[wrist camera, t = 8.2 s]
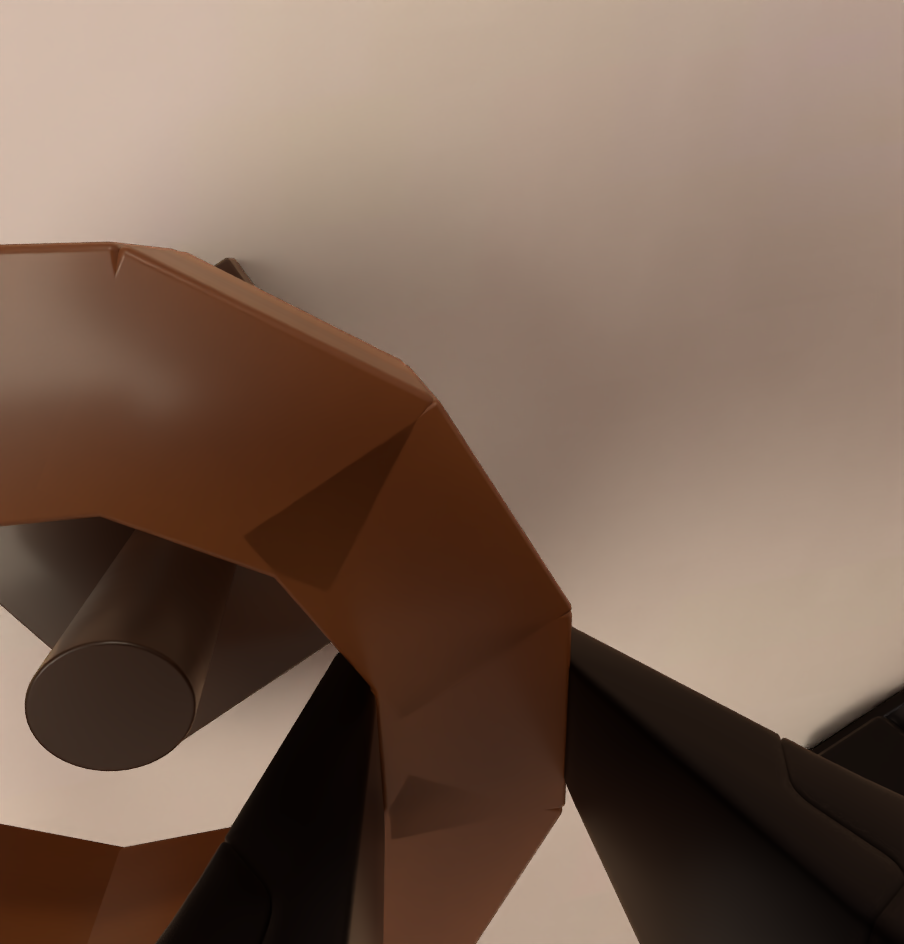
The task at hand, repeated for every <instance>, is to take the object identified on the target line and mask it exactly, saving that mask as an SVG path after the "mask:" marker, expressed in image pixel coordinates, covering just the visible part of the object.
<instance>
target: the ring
mask: <svg viewBox="0 0 904 944" xmlns="http://www.w3.org/2000/svg"><path fill="white" fill-rule="evenodd" d="M91 517H102V518H105V519H108V520H111V521H114V522H117V523H120V524H122V525H125V526H128V527H131V528H134V529H137V530H140V531H142V532H145V533H148V534H151V535H154V536H157V537H159V538H162V539H165V540H168V541H171V542H174V543H177V544H179V545H182V546H185V547H188V548H191V549H194V550H197V551H199V552H202V553H205V554H208V555H211V556H214V557H216V558H219V559H222V560H225V561H228V562H231V563H234V564H236V565H239V566H242V567H245V568H248V569H251V570H254V571H256V572H259V573H262V574H265V575H268V576H271V577H273V578H275V579H276V580H277V582H278V583H279V584H280V585H281V586H282V587H283V588H284V589H285V591H286V592H287V593H288V594H289V595H290V596H291V597H292V599H293V600H294V601H295V602H296V603H297V604H298V605H299V606H300V608H301V609H302V610H303V611H304V612H305V613H306V614H307V615H308V617H309V618H310V619H311V620H312V621H313V622H314V623H315V624H316V626H317V627H318V628H319V629H320V630H321V631H322V632H323V634H324V635H325V636H326V637H327V638H328V639H329V640H330V641H331V643H332V644H333V645H334V646H335V647H336V648H337V649H338V650H339V652H340V653H341V654H342V655H343V656H344V657H345V658H346V659H347V661H348V662H349V663H350V664H351V665H352V666H353V667H354V669H355V670H356V671H357V672H358V673H359V674H360V675H361V676H362V678H363V679H364V680H365V681H366V682H367V683H368V684H369V685H370V690H371V691H372V693H373V694H374V695H375V698H376V711H377V724H378V738H379V752H380V765H381V779H382V793H383V806H384V820H385V865H384V930H383V944H476V943H477V941H478V940H479V938H480V937H481V935H482V934H483V932H484V931H485V929H486V927H487V926H488V924H489V923H490V921H491V920H492V918H493V917H494V915H495V914H496V912H497V911H498V909H499V908H500V906H501V905H502V903H503V902H504V900H505V898H506V897H507V895H508V894H509V892H510V891H511V889H512V888H513V886H514V885H515V883H516V882H517V880H518V879H519V877H520V876H521V874H522V873H523V871H524V869H525V868H526V866H527V865H528V863H529V862H530V860H531V859H532V857H533V856H534V854H535V853H536V851H537V850H538V848H539V847H540V845H541V844H542V842H543V840H544V839H545V837H546V836H547V834H548V833H549V831H550V830H551V828H552V827H553V825H554V824H555V822H556V821H557V819H558V818H559V816H560V815H561V813H562V806H564V804H565V793H566V782H565V779H564V770H565V748H566V727H567V706H568V685H569V668H570V654H571V626H572V613H571V604H570V602H569V601H568V599H567V598H566V596H565V595H564V593H563V591H562V590H561V588H560V587H559V585H558V584H557V582H556V581H555V579H554V577H553V576H552V574H551V573H550V571H549V570H548V568H547V567H546V565H545V564H544V562H543V560H542V559H541V557H540V556H539V554H538V553H537V551H536V550H535V548H534V547H533V545H532V543H531V542H530V540H529V539H528V537H527V536H526V534H525V533H524V531H523V530H522V528H521V526H520V525H519V523H518V522H517V520H516V519H515V517H514V516H513V514H512V512H511V511H510V509H509V508H508V506H507V505H506V503H505V502H504V500H503V499H502V497H501V495H500V494H499V492H498V491H497V489H496V488H495V486H494V485H493V483H492V482H491V480H490V478H489V477H488V475H487V474H486V472H485V471H484V469H483V468H482V466H481V465H480V463H479V461H478V460H477V458H476V457H475V455H474V454H473V452H472V451H471V449H470V447H469V446H468V444H467V443H466V441H465V440H464V438H463V437H462V435H461V434H460V432H459V430H458V429H457V427H456V426H455V424H454V423H453V421H452V420H451V418H450V417H449V415H448V413H447V412H446V410H445V409H444V407H443V406H442V404H441V403H440V401H439V400H438V399H437V398H436V397H435V396H434V394H433V393H432V392H431V391H430V390H429V389H428V388H427V386H426V385H425V384H424V383H423V382H422V381H421V379H420V378H419V377H418V376H417V375H416V374H415V373H414V371H413V370H412V369H411V368H410V367H409V366H408V365H405V364H404V363H403V362H402V361H401V360H400V359H398V358H396V357H394V356H392V355H390V354H388V353H386V352H384V351H382V350H380V349H378V348H376V347H374V346H372V345H370V344H368V343H366V342H364V341H362V340H360V339H358V338H356V337H354V336H352V335H350V334H348V333H346V332H344V331H342V330H340V329H338V328H336V327H334V326H332V325H330V324H328V323H326V322H324V321H322V320H320V319H318V318H316V317H314V316H312V315H310V314H308V313H306V312H304V311H302V310H300V309H298V308H296V307H294V306H292V305H291V304H289V303H287V302H285V301H283V300H281V299H279V298H277V297H275V296H273V295H271V294H269V293H267V292H265V291H263V290H261V289H259V288H257V287H255V286H253V285H251V284H249V283H247V282H245V281H243V280H241V279H239V278H237V277H235V276H233V275H231V274H229V273H227V272H225V271H223V270H221V269H219V268H217V267H215V266H213V265H211V264H209V263H207V262H205V261H203V260H201V259H199V258H197V257H195V256H193V255H191V254H189V253H187V252H179V251H177V250H174V249H170V248H161V247H152V246H143V245H134V244H125V243H117V242H81V243H43V244H5V245H0V526H10V525H20V524H30V523H40V522H50V521H61V520H71V519H81V518H91ZM230 828H231V827H229V828H224V829H218V830H213V831H208V832H203V833H197V834H192V835H187V836H181V837H176V838H171V839H166V840H160V841H155V842H150V843H144V844H139V845H134V846H128V847H120V846H114V845H109V844H104V843H99V842H93V841H88V840H83V839H77V838H72V837H67V836H62V835H56V834H51V833H46V832H41V831H35V830H30V829H25V828H20V827H14V826H9V825H4V824H0V944H155V943H156V942H157V940H158V939H159V937H160V936H161V935H162V933H163V932H164V930H165V929H166V928H167V926H168V925H169V924H170V922H171V921H172V919H173V918H174V916H175V915H176V913H177V912H178V910H179V909H180V907H181V906H182V904H183V903H184V901H185V899H186V898H187V896H188V895H189V893H190V892H191V890H192V889H193V887H194V886H195V884H196V883H197V881H198V879H199V878H200V876H201V875H202V873H203V872H204V870H205V868H206V867H207V865H208V863H209V862H210V860H211V859H212V857H213V855H214V854H215V852H216V850H217V849H218V847H219V845H220V844H221V843H222V842H225V836H226V835H227V833H228V831H229V830H230Z"/></svg>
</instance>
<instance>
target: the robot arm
mask: <svg viewBox="0 0 904 944" xmlns="http://www.w3.org/2000/svg"><path fill="white" fill-rule="evenodd" d="M564 779H565V782H566V785H567V787H568V790H569V792H570V794H571V797H572V799H573V801H574V804H575V806H576V808H577V810H578V812H579V814H580V817H581V819H582V821H583V823H584V825H585V827H586V829H587V832H588V834H589V836H590V838H591V840H592V842H593V844H594V847H595V849H596V851H597V853H598V855H599V857H600V859H601V862H602V864H603V866H604V868H605V870H606V872H607V874H608V877H609V879H610V881H611V883H612V885H613V887H614V889H615V892H616V894H617V896H618V898H619V900H620V902H621V905H622V907H623V909H624V911H625V913H626V915H627V917H628V920H629V922H630V924H631V926H632V928H633V930H634V932H635V935H636V937H637V939H638V941H639V943H640V944H904V689H903V690H902V691H900V692H899V693H897V694H896V695H894V696H893V697H891V698H890V699H888V700H887V701H885V702H884V703H882V704H881V705H879V706H878V707H876V708H875V709H873V710H872V711H870V712H869V713H867V714H866V715H864V716H863V717H861V718H859V719H858V720H856V721H855V722H853V723H852V724H850V725H849V726H847V727H846V728H844V729H843V730H841V731H840V732H838V733H837V734H835V735H834V736H832V737H831V738H829V739H828V740H826V741H825V742H823V743H822V744H820V745H818V746H817V747H815V748H814V749H812V750H811V751H810V750H808V749H806V748H804V747H802V746H800V745H798V744H796V743H794V742H793V741H791V740H789V739H787V738H782V739H780V736H779V735H778V734H777V733H775V732H773V731H771V730H769V729H767V728H765V727H763V726H761V725H760V724H758V723H756V722H754V721H752V720H750V719H748V718H746V717H744V716H742V715H740V714H738V713H737V712H735V711H733V710H731V709H729V708H727V707H725V706H723V705H721V704H719V703H717V702H715V701H714V700H712V699H710V698H708V697H706V696H704V695H702V694H700V693H698V692H696V691H694V690H692V689H691V688H689V687H687V686H685V685H683V684H681V683H679V682H677V681H675V680H673V679H671V678H669V677H668V676H666V675H664V674H662V673H660V672H658V671H656V670H654V669H652V668H650V667H648V666H646V665H645V664H643V663H641V662H639V661H637V660H635V659H633V658H631V657H629V656H627V655H625V654H623V653H622V652H620V651H618V650H616V649H614V648H612V647H610V646H608V645H606V644H604V643H602V642H600V641H599V640H597V639H595V638H593V637H591V636H589V635H587V634H585V633H583V632H581V631H579V630H577V629H576V628H574V627H572V626H571V654H570V668H569V685H568V706H567V727H566V748H565V770H564ZM384 865H385V820H384V806H383V793H382V779H381V765H380V752H379V738H378V724H377V711H376V698H375V695H374V694H373V693H372V691H371V690H370V685H369V684H368V683H367V682H366V681H365V680H364V679H363V678H362V676H361V675H360V674H359V673H358V672H357V671H356V670H355V669H354V667H353V666H352V665H351V664H350V663H349V662H348V661H347V659H346V658H345V657H344V656H343V655H342V654H341V653H340V652H339V653H338V654H337V655H336V656H335V658H334V660H333V661H332V663H331V665H330V666H329V668H328V670H327V671H326V673H325V674H324V676H323V678H322V679H321V681H320V683H319V684H318V686H317V687H316V689H315V691H314V692H313V694H312V696H311V697H310V699H309V701H308V702H307V704H306V705H305V707H304V709H303V710H302V712H301V714H300V715H299V717H298V719H297V720H296V722H295V723H294V725H293V727H292V728H291V730H290V732H289V733H288V735H287V737H286V738H285V740H284V741H283V743H282V745H281V746H280V748H279V750H278V751H277V753H276V755H275V756H274V758H273V759H272V761H271V763H270V764H269V766H268V768H267V769H266V771H265V772H264V774H263V776H262V777H261V779H260V781H259V782H258V784H257V786H256V787H255V789H254V790H253V792H252V794H251V795H250V797H249V799H248V800H247V802H246V804H245V805H244V807H243V808H242V810H241V812H240V813H239V815H238V817H237V818H236V820H235V822H234V823H233V825H232V826H231V828H230V830H229V831H228V833H227V835H226V836H225V842H222V843H221V844H220V845H219V847H218V849H217V850H216V852H215V854H214V855H213V857H212V859H211V860H210V862H209V863H208V865H207V867H206V868H205V870H204V872H203V873H202V875H201V876H200V878H199V879H198V881H197V883H196V884H195V886H194V887H193V889H192V890H191V892H190V893H189V895H188V896H187V898H186V899H185V901H184V903H183V904H182V906H181V907H180V909H179V910H178V912H177V913H176V915H175V916H174V918H173V919H172V921H171V922H170V924H169V925H168V926H167V928H166V929H165V930H164V932H163V933H162V935H161V936H160V937H159V939H158V940H157V942H156V943H155V944H383V930H384Z"/></svg>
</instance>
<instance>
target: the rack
mask: <svg viewBox="0 0 904 944" xmlns="http://www.w3.org/2000/svg"><path fill="white" fill-rule="evenodd" d="M215 267H217V268H219V269H221V270H223V271H225V272H227V273H229V274H231V275H233V276H235V277H237V278H239V279H241V280H243V281H245V282H247V283H249V284H251V285H253V286H254V284H253V283H252V282H251V280H250V279H249V277H248V276H247V275H246V273H245V272H244V270H243V269H242V268H241V266H240V265H239V264H238V262H237V261H236V260H235V259H234V258H225V259H224V260H222V261H221V262H219V263H218V264H216V265H215ZM0 605H1V606H3V607H4V608H5V609H6V610H7V611H8V612H9V613H11V614H12V615H13V616H14V617H15V618H16V619H17V620H19V621H20V622H21V623H22V624H23V625H24V626H26V627H27V628H28V629H29V630H30V631H31V632H32V633H34V634H35V635H36V636H37V637H38V638H39V639H40V640H42V641H43V642H44V643H45V644H46V645H47V646H48V647H50V648H51V649H52V650H51V652H50V653H49V655H48V656H47V658H46V659H45V660H44V662H43V663H42V665H41V666H40V668H39V669H38V671H37V672H36V673H35V675H34V676H33V678H32V680H31V682H30V684H29V686H28V689H27V692H26V698H25V714H26V719H27V723H28V725H29V727H30V730H31V732H32V733H33V735H34V736H35V738H36V739H37V740H38V742H39V743H40V744H41V745H42V746H43V747H44V748H45V749H46V750H47V751H49V752H50V753H52V754H53V755H54V756H56V757H57V758H59V759H61V760H63V761H65V762H67V763H70V764H72V765H75V766H78V767H82V768H86V769H91V770H99V771H121V770H129V769H133V768H138V767H141V766H144V765H147V764H150V763H152V762H154V761H156V760H158V759H160V758H162V757H163V756H165V755H167V754H168V753H169V752H171V751H172V750H173V749H174V748H175V747H176V746H177V745H179V744H180V743H181V742H182V741H183V740H184V739H186V738H187V737H189V736H190V735H192V734H193V733H195V732H196V731H198V730H199V729H201V728H202V727H204V726H205V725H207V724H208V723H210V722H211V721H213V720H214V719H216V718H217V717H219V716H220V715H222V714H223V713H225V712H226V711H228V710H229V709H231V708H232V707H234V706H235V705H237V704H238V703H240V702H241V701H243V700H244V699H246V698H247V697H249V696H250V695H252V694H253V693H255V692H256V691H258V690H259V689H261V688H262V687H264V686H265V685H267V684H268V683H270V682H271V681H273V680H274V679H276V678H278V677H279V676H281V675H282V674H284V673H285V672H287V671H288V670H290V669H291V668H293V667H294V666H296V665H297V664H299V663H300V662H302V661H303V660H305V659H306V658H308V657H309V656H311V655H312V654H314V653H315V652H317V651H318V650H320V649H321V648H323V647H324V646H326V645H327V644H329V643H330V642H331V641H330V640H329V639H328V638H327V637H326V636H325V635H324V634H323V632H322V631H321V630H320V629H319V628H318V627H317V626H316V624H315V623H314V622H313V621H312V620H311V619H310V618H309V617H308V615H307V614H306V613H305V612H304V611H303V610H302V609H301V608H300V606H299V605H298V604H297V603H296V602H295V601H294V600H293V599H292V597H291V596H290V595H289V594H288V593H287V592H286V591H285V589H284V588H283V587H282V586H281V585H280V584H279V583H278V582H277V580H276V579H275V578H273V577H271V576H268V575H265V574H262V573H259V572H256V571H254V570H251V569H248V568H245V567H242V566H239V565H236V564H234V563H231V562H228V561H225V560H222V559H219V558H216V557H214V556H211V555H208V554H205V553H202V552H199V551H197V550H194V549H191V548H188V547H185V546H182V545H179V544H177V543H174V542H171V541H168V540H165V539H162V538H159V537H157V536H154V535H151V534H148V533H145V532H142V531H140V530H137V529H134V528H131V527H128V526H125V525H122V524H120V523H117V522H114V521H111V520H108V519H105V518H102V517H91V518H81V519H71V520H61V521H50V522H40V523H30V524H20V525H10V526H0Z"/></svg>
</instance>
